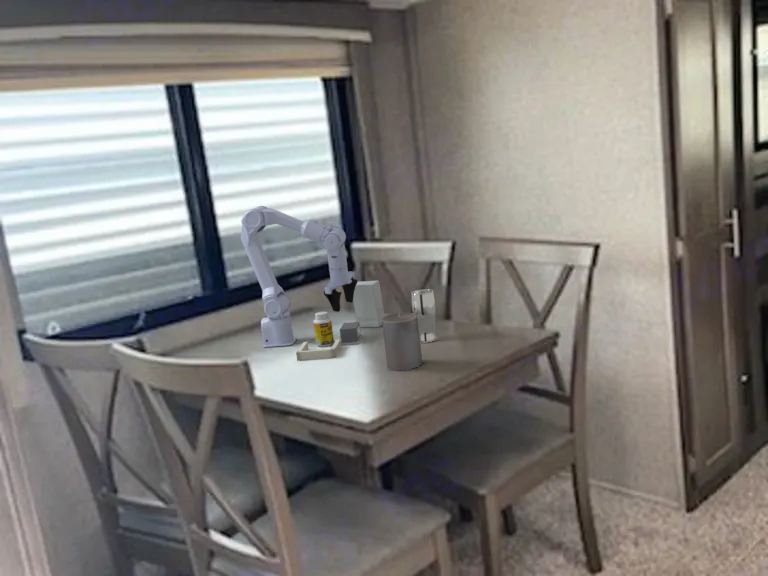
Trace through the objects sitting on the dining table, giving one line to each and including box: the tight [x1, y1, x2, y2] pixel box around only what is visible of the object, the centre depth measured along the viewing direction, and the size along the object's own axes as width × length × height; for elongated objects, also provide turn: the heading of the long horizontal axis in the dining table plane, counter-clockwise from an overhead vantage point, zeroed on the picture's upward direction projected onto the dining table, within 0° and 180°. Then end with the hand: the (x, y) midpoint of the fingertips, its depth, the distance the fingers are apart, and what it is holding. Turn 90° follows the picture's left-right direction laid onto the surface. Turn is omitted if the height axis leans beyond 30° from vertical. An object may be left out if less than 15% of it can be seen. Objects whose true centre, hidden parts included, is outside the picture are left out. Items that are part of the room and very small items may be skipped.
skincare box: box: [353, 280, 386, 328], centre depth 257 cm, size 8×6×15 cm
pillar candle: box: [381, 311, 423, 371], centre depth 209 cm, size 10×10×15 cm
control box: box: [339, 321, 364, 347], centre depth 241 cm, size 6×10×5 cm, turn 174°
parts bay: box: [295, 338, 342, 361], centre depth 231 cm, size 11×11×2 cm
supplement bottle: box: [313, 311, 335, 348], centre depth 240 cm, size 6×6×10 cm
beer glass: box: [410, 288, 438, 344], centre depth 231 cm, size 7×7×15 cm
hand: (343, 306), depth 247 cm, fingers open, 7 cm apart
